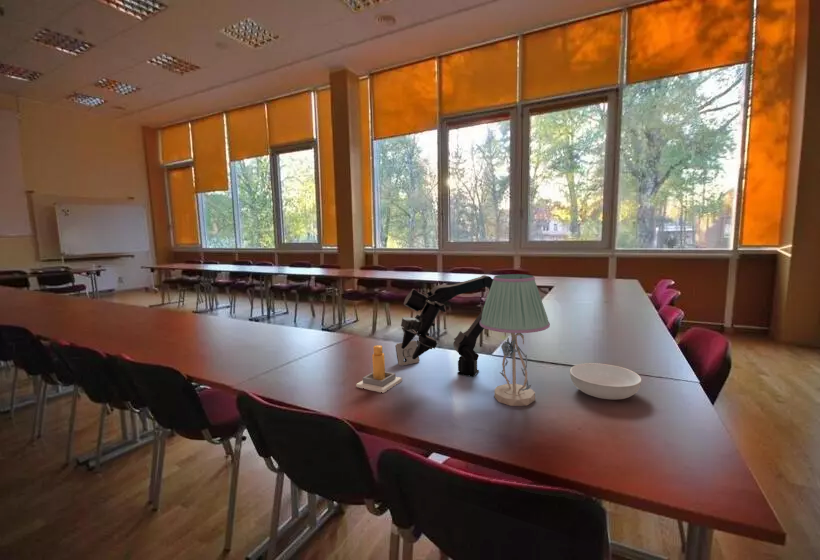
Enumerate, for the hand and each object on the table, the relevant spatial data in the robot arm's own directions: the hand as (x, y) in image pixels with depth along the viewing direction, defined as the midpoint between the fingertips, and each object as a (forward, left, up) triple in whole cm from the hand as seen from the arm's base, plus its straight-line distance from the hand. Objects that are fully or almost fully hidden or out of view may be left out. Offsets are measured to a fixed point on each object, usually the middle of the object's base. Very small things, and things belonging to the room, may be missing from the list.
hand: (407, 353), depth 145 cm
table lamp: (-40, -1, -10) cm, 41 cm away
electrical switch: (+10, -15, -10) cm, 21 cm away
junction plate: (+7, +9, -10) cm, 15 cm away
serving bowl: (-65, -17, -10) cm, 68 cm away
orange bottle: (+7, +9, -9) cm, 14 cm away
